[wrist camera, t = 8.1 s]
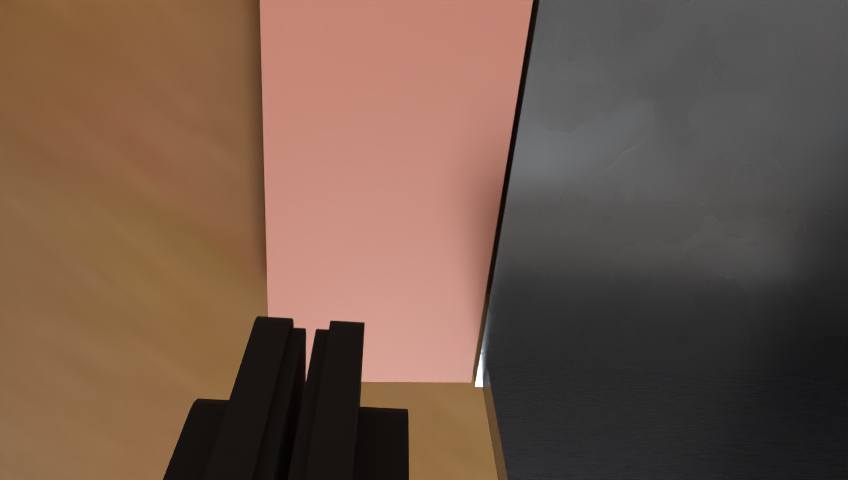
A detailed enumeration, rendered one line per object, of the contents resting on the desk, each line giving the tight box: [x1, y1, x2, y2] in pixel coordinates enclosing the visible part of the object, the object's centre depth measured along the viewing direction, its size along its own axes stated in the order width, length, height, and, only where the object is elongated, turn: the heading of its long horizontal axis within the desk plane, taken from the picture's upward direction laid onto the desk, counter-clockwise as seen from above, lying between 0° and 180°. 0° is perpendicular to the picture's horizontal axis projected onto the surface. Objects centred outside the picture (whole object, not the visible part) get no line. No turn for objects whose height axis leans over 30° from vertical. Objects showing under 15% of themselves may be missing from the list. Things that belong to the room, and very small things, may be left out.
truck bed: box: [473, 0, 848, 480], centre depth 21 cm, size 18×22×11 cm
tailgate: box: [260, 0, 533, 382], centre depth 22 cm, size 1×22×8 cm
